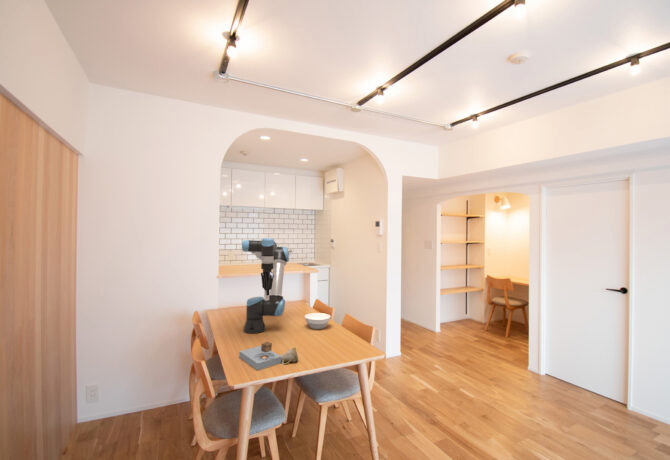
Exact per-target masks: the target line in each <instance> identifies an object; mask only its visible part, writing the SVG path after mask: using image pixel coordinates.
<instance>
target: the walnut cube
mask: <svg viewBox="0 0 670 460" xmlns="http://www.w3.org/2000/svg"><path fill="white" fill-rule="evenodd" d="M260 344H261V345H260V346H261V351H263V352H269V351H273V350H272V347H273V346H272V344H273V343H272V342H269V341H264V342H262V343H260Z"/></svg>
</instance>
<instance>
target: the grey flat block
mask: <svg viewBox="0 0 670 460" xmlns="http://www.w3.org/2000/svg"><path fill="white" fill-rule="evenodd" d="M238 357H239V358H240V359H241V360H242V361H244V362H245V363H246V364H248V365H249V366H250V367H252V368H254V369H255V370H257V371H261V370H263V369H266V368H269V367H274V366H276V365H279V364H282V361H281V354H280V355H279V354H278V353H276V352H274V351H273V350H271V351H269V352H263V351H261V345H259V346H255V347H251V348H247V349H244V350H243V349H242V350H239V356H238ZM262 357H267V358H262Z"/></svg>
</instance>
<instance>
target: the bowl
mask: <svg viewBox="0 0 670 460" xmlns="http://www.w3.org/2000/svg"><path fill="white" fill-rule="evenodd" d="M331 317H332V316H331V315H330V314H328V313H322V312H311V313H307V314H305V315H304V319H305V322H306V323H307V325H308V327H309V328H310V329H311V330H312V329H313V330H323V329H325V328H326V326H327V325H328V324H329V323H330V319H331Z"/></svg>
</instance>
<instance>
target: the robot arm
mask: <svg viewBox="0 0 670 460" xmlns="http://www.w3.org/2000/svg"><path fill="white" fill-rule="evenodd" d="M241 250H242V252H245V253H247V252H249V253H251V254H253V255H255V257H256V258H257V259H259V260H261V265H260V267H261V270H262V272H260V275H261V284H262V286H261V287H262V289H263V290H264V291H263V293H264V294H263V295H264V296H254V297H250V298H249V299H247V300H246V305H245V306H246V317H245V318H246V319H245V322H244V325H243V333H246V334H260V333H263V332H265V331H266V324H265V321H264V317H280V316H282V315H283V314H284V312H285V311H284V310H285V307H286V299H284V296H283V295H282V293H283V285H284V284H283V282H284V274H285V266H286V265H287V263H288V262H290V256H289V255H290V254H289V248H288V247H286V246H278V244H277V242H276V241H275V239H274V238H271V237H268V238H267V237H263V238H262V239H261V240H252V239H251V240H249V239H245V240H243V241H242V243H241Z"/></svg>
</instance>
